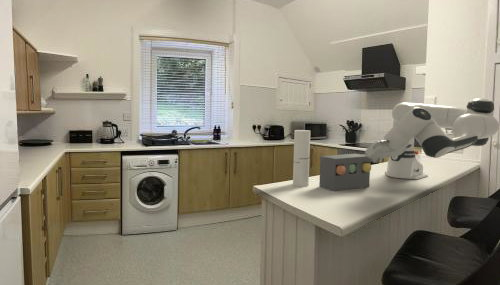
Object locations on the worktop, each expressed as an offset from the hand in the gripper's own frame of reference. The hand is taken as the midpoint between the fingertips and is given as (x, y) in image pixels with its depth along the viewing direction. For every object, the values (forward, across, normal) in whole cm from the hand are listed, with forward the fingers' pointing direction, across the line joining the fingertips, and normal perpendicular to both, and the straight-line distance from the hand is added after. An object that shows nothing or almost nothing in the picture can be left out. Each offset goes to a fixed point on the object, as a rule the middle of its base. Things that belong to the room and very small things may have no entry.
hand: (375, 160), depth 148 cm
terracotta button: (+8, -15, 0) cm, 17 cm away
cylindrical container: (+24, -24, +7) cm, 34 cm away
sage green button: (+9, -7, +1) cm, 12 cm away
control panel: (+16, -8, -1) cm, 18 cm away
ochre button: (+8, +1, 0) cm, 8 cm away
